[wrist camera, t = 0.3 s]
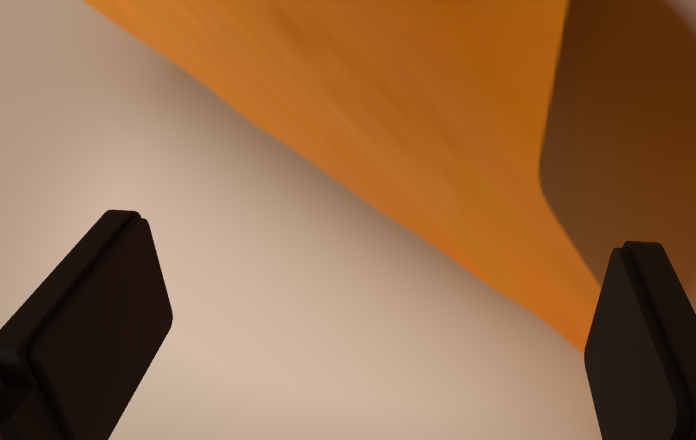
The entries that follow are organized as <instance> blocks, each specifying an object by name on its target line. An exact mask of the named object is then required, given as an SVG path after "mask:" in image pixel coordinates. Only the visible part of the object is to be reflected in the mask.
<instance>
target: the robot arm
mask: <svg viewBox="0 0 696 440" xmlns="http://www.w3.org/2000/svg"><path fill="white" fill-rule="evenodd" d="M172 320H173V314H172V309H171V305H170V301H169V298H168V294H167V291H166V286H165V283H164V279H163V275H162V271H161V268H160V264H159V260H158V257H157V253H156V249H155V245H154V241H153V238H152V234H151V230H150V227H149V224H148V221H147V220H146V219H144V218H141V216H140V214H139V213H138V212H136V211H126V210H125V211H124V210H108V211H107V212H105V213H104V214H103V215H102V217H101V218H100V219H99V220H98V221H97V222H96V223H95V225H93V227H92V228H91V229H90V230H89V231H88V232H87V233H86V235H85V236H84V237H83V238H82V239H81V240H80V241H79V242H78V243H77V244H76V246H75V247H74V248H73V249H72V250H71V251H70V253H69V254H68V255H67V256H66V257H65V258H64V259H63V260H62V261H61V262H60V263H59V265H58V266H57V267H56V268H55V269H54V270H53V271H52V272H51V274H50V275H49V276H48V277H47V278H46V279H45V280H44V281H43V282H42V284H41V285H40V286H39V287H38V288H37V289H36V290H35V291H34V293H33V294H32V295H31V296H30V297H29V298H28V299H27V300H26V302H25V303H24V304H23V305H22V306H21V307H20V308H19V309H18V310H17V312H16V313H15V314H14V315H13V316H12V317H11V318H10V319H9V320H8V322H7V323H6V324H5V325H4V326H3V327H2V328H1V329H0V440H108V439H109V437H110V435H111V433H112V431H113V430H114V428H115V426H116V425H117V423H118V421H119V419H120V417H121V416H122V414H123V412H124V410H125V408H126V407H127V405H128V403H129V401H130V400H131V398H132V396H133V394H134V392H135V391H136V389H137V387H138V385H139V384H140V382H141V380H142V378H143V376H144V375H145V373H146V371H147V369H148V367H149V366H150V364H151V362H152V360H153V359H154V357H155V355H156V353H157V351H158V350H159V348H160V346H161V344H162V342H163V341H164V339H165V337H166V335H167V334H168V332H169V330H170V328H171V325H172ZM584 361H585V368H586V373H587V376H588V381H589V385H590V389H591V393H592V398H593V402H594V406H595V410H596V415H597V419H598V422H599V427H600V431H601V435H602V440H696V314H695V312H694V310H693V308H692V306H691V304H690V302H689V300H688V298H687V296H686V294H685V291H684V289H683V288H682V285H681V283H680V281H679V279H678V277H677V275H676V273H675V271H674V269H673V267H672V265H671V263H670V261H669V259H668V257H667V254H666V253H665V251H664V248H663V247H662V245H661V244H660V243H655V242H639V241H626V242H625V243H624V245H623V247H622V248H614V249H613V251H612V253H611V257H610V260H609V264H608V267H607V271H606V275H605V278H604V282H603V285H602V289H601V292H600V296H599V300H598V303H597V307H596V311H595V314H594V318H593V321H592V325H591V329H590V332H589V336H588V339H587V343H586V347H585V353H584Z"/></svg>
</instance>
